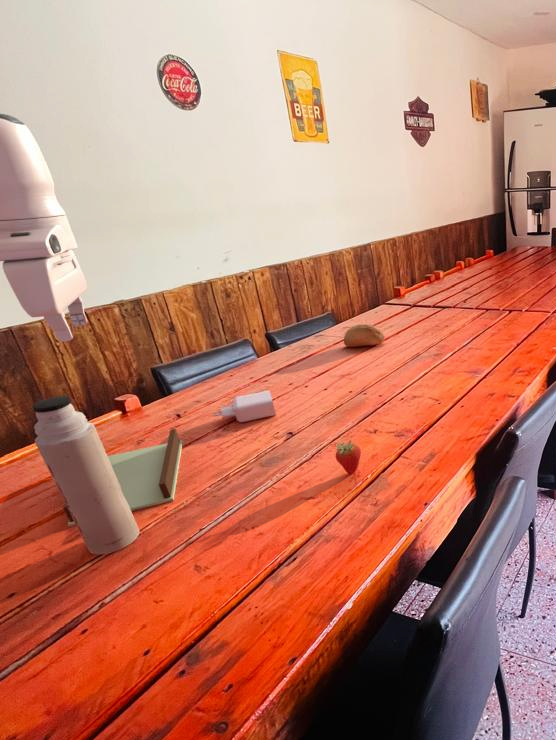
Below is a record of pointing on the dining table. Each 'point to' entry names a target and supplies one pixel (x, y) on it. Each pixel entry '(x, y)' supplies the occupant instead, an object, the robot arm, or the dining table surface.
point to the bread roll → (363, 335)
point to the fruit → (348, 456)
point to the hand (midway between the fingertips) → (74, 332)
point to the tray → (146, 474)
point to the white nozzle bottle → (249, 407)
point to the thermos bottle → (84, 476)
